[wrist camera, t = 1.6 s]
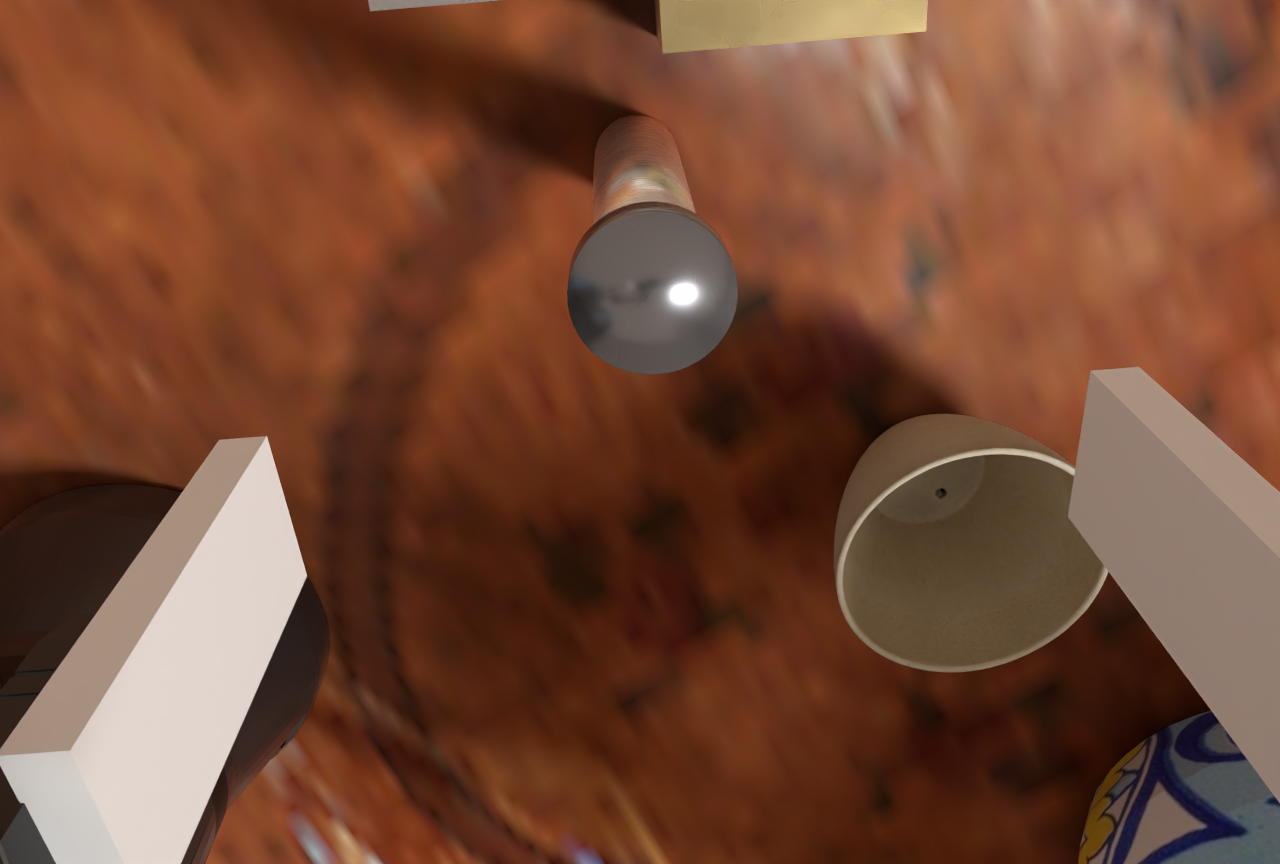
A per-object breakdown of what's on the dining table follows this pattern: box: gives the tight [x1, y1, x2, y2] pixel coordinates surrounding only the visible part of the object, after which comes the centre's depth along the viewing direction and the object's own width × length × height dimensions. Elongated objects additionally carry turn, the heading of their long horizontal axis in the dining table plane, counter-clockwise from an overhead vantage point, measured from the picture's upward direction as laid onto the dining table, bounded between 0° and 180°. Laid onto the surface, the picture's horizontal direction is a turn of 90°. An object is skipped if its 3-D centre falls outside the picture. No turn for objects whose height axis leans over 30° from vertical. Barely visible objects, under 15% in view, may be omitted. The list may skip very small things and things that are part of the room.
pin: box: [567, 115, 738, 374], centre depth 30 cm, size 4×4×14 cm
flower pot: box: [834, 414, 1108, 672], centre depth 39 cm, size 10×10×7 cm
